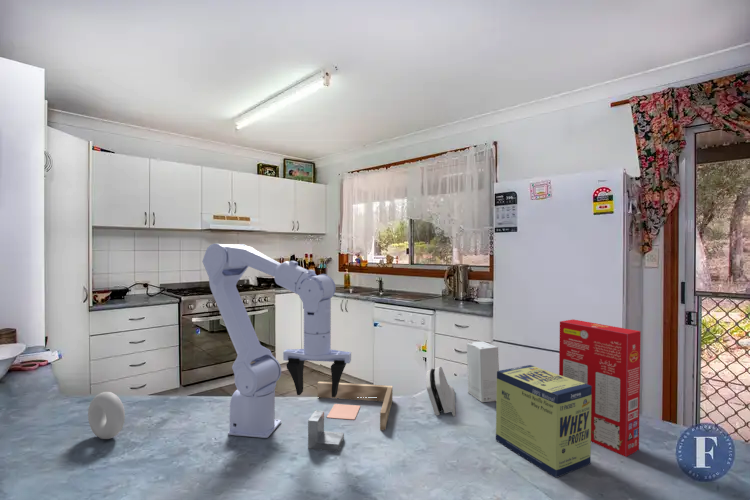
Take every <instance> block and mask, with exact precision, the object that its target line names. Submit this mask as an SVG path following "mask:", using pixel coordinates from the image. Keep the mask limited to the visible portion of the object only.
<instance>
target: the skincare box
mask: <svg viewBox="0 0 750 500" xmlns="http://www.w3.org/2000/svg"><path fill="white" fill-rule="evenodd" d="M499 359H500V358H499V346H497V345H493V344H491V343H488V342H486V341H473V342H466V362H467V365H466V366H467V393H468V394H470V395H471V396H472V397H474V398H475V399H477V400H478V401H480V403H488V402H491V403H492V402H496V399H497V371H500V366H499V365H500V364H499V362H500V361H499Z"/></svg>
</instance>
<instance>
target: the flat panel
mask: <svg viewBox="0 0 750 500" xmlns="http://www.w3.org/2000/svg"><path fill="white" fill-rule="evenodd" d="M360 408H361V405H355V404H341V403H333V406H332V408H331V409H330V410H329V413H328V414H327V416H326V418H327V419H335V420H337V419H338V420H339V419H340V420H351V421H352V420H353V421H355V420H356V418H357V416H358V413H359V411H360Z"/></svg>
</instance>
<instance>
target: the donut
mask: <svg viewBox="0 0 750 500" xmlns="http://www.w3.org/2000/svg"><path fill="white" fill-rule="evenodd" d="M87 409H88V410H87V420H88V424H89V427H90V429H91V431H92V433H93V434H94V436H96V437H97V438H99V439H101V440H109V439H113V438H114V437H116V436H118V434H119V433H120V432H121V431H122V429H123V427H124V424H125V422H126V421H125V420H126V414H125V413H126V412H125V411H126V410H125V406H124V404H123V402H122V399H120V397H119V396H118V395H117V394H116V393H113V392H112V391H102V392H100V393H98V394H97V395H95V396H94V397H93V398H92V400H91V401H90V403H89V406H88V408H87Z"/></svg>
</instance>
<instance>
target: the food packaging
mask: <svg viewBox="0 0 750 500" xmlns="http://www.w3.org/2000/svg"><path fill="white" fill-rule="evenodd" d="M641 332H642V331H640V330H636V329H629V328H624V327H619V326H613V325H607V324H601V323H596V322H591V321H583V320H578V319H573V318H572V319H568V320H561V321H559V349H558V350H559V351H558V353H559V355H558V356H559V357H558V358H559V360H558V362H559V363H558V365H559V366H558V367H559V368H558V375H561V376H564V377H567V378H570V379H573V380H576V381H579V382H582V383H585V384H588V385H591V386H592V390H591V392H592V393H591V441H592V443H593V442H594V444H596V445H598V446H600V447H602V448H604V449H607V450H609V451H612V452H614V453H616V454H619V455H621V456H623V457H625V458H627V457H628V456H630V455H633V454H634V453H636V452H637V450H638V451H639V450H640V407H641V406H640V405H641V404H640V402H641V401H640V399H641V398H640V394H641V393H640V391H641V390H640V389H641V336H642V334H641Z"/></svg>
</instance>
